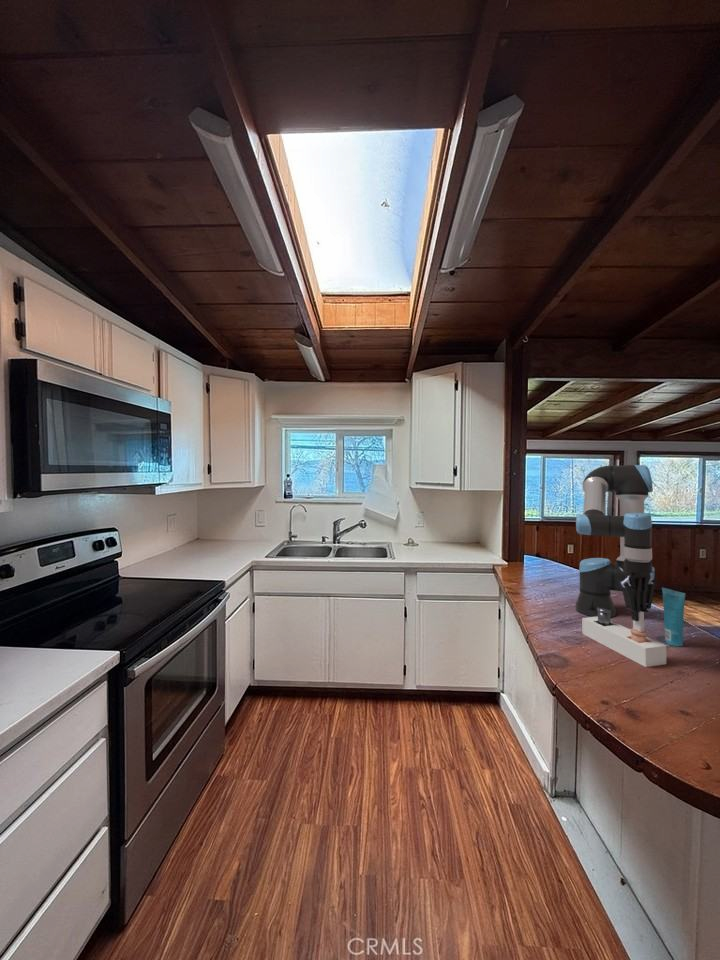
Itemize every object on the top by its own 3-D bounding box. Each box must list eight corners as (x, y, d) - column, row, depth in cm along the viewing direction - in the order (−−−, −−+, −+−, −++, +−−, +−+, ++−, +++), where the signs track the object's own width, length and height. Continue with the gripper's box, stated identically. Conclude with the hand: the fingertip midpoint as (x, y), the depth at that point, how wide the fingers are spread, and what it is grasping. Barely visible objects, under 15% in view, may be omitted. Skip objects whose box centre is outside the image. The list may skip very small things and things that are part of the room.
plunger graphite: (604, 625, 144) (604, 606, 143) (614, 630, 139) (614, 610, 139) (594, 626, 143) (594, 607, 142) (604, 631, 138) (603, 611, 138)
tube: (689, 646, 134) (689, 592, 134) (682, 649, 132) (682, 594, 131) (665, 638, 141) (664, 586, 140) (658, 641, 138) (657, 588, 138)
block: (600, 631, 148) (600, 616, 148) (666, 664, 122) (666, 645, 122) (582, 633, 146) (582, 618, 146) (645, 667, 121) (645, 648, 120)
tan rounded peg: (638, 648, 130) (638, 627, 130) (650, 654, 126) (650, 632, 125) (627, 650, 129) (627, 628, 129) (639, 656, 125) (639, 634, 125)
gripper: (643, 556, 132) (644, 623, 132) (611, 558, 129) (612, 627, 129) (665, 560, 124) (665, 632, 125) (631, 563, 122) (632, 636, 122)
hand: (638, 630), depth 127 cm, fingers closed
